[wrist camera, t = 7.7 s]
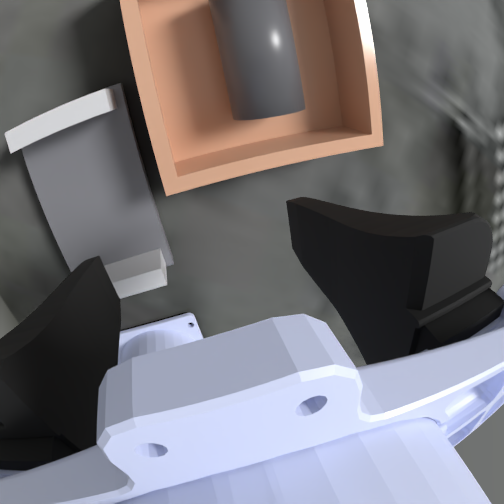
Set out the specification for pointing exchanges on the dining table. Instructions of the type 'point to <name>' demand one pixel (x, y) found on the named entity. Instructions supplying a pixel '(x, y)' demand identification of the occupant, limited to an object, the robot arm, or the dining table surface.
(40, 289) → the dining table surface
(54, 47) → the dining table surface
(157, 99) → the bin
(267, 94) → the cell
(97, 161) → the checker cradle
